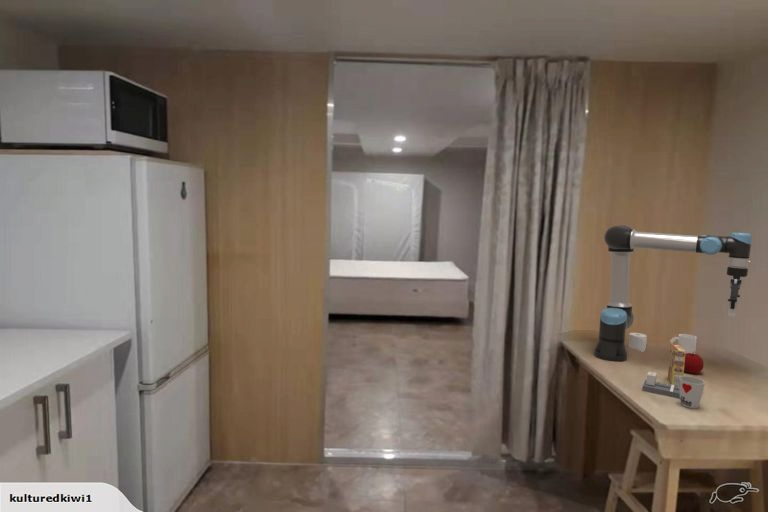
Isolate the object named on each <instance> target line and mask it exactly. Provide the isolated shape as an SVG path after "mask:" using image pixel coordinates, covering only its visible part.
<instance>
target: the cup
mask: <svg viewBox="0 0 768 512" xmlns="http://www.w3.org/2000/svg"><path fill="white" fill-rule="evenodd" d="M705 382H706V381H704V380H703V379H700V378H698V377H694V376H689V375H687V376H686V375H684V376H681V377H679V395H680V399H679V400H680V403H681V405H682V406H683V407H686V408H688V407H689V409H697V408H698V406H699V405H700V403H701V400H702V396H703V393H704V389H705V388H704V387H705Z"/></svg>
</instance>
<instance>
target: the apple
mask: <svg viewBox="0 0 768 512" xmlns="http://www.w3.org/2000/svg"><path fill="white" fill-rule="evenodd" d="M693 353H694V352H693ZM703 369H704V360H703V358H702V357H701V355H698V354H696V353H695V354H692V353H686V354H685V364H684V372H686V373H688V374H694V375H695V374H699V373H701V372H702V371H703Z"/></svg>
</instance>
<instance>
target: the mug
mask: <svg viewBox="0 0 768 512" xmlns="http://www.w3.org/2000/svg"><path fill="white" fill-rule="evenodd" d="M697 338H698V336H696V335H693V334H688V333H679V334H678V336H674V337H672V338H671V339H670V340H669V346H670V345H674V342H675V341H676V340H677V345H679V346H681V347H682V348H683V349H684V350H685V351H686V353H692V354H696V350H697V349H696V348H697V340H698V339H697ZM693 352H694V353H693ZM686 353H685V354H686Z"/></svg>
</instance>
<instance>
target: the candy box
mask: <svg viewBox="0 0 768 512" xmlns="http://www.w3.org/2000/svg"><path fill="white" fill-rule="evenodd" d="M685 353H686V351H685V350H684V349H683V348H682V347H681V346H679V345H678V344H673V345H670V344H669V356H668V364H667V365H668V366H667V380H668V381H669V382H670V383H669V384H670V385H675V386H679V377H681V376H685V373H684V372H685V371H684V364H685Z"/></svg>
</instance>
